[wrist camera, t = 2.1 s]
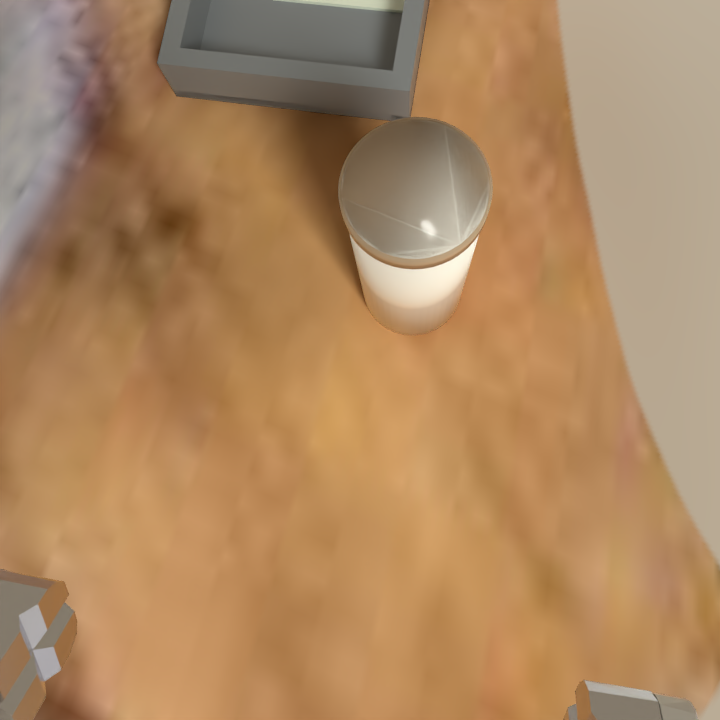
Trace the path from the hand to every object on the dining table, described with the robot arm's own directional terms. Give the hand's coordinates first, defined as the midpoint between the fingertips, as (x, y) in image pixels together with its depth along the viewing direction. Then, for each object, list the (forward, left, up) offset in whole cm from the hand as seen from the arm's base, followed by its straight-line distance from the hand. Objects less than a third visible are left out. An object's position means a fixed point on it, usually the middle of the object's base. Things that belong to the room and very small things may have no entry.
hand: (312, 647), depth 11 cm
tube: (0, +12, -22) cm, 26 cm away
